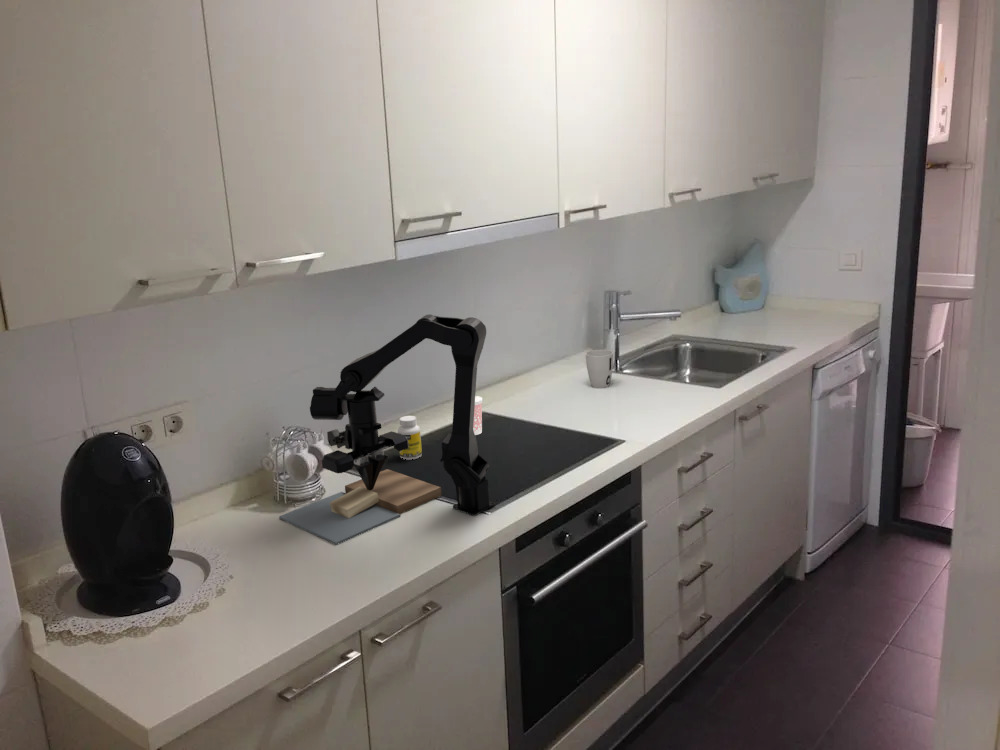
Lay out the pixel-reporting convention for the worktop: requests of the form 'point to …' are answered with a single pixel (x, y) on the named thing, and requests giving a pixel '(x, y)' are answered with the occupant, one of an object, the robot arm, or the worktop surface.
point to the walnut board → (399, 491)
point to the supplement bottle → (410, 438)
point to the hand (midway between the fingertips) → (370, 489)
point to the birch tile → (354, 502)
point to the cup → (599, 367)
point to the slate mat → (337, 520)
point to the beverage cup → (478, 415)
